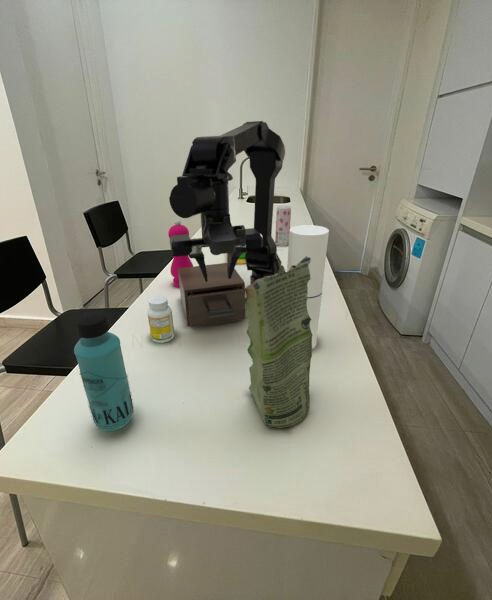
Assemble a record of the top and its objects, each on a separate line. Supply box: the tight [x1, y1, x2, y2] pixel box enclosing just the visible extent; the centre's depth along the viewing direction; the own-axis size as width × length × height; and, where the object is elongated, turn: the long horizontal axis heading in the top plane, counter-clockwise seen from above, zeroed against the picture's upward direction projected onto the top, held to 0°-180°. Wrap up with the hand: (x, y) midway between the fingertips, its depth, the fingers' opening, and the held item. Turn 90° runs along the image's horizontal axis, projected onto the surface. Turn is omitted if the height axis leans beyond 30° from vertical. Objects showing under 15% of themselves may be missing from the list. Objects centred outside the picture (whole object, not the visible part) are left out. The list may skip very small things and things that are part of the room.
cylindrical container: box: [286, 224, 330, 350], centre depth 67 cm, size 7×7×25 cm
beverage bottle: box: [73, 311, 135, 432], centre depth 49 cm, size 6×7×20 cm
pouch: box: [244, 256, 313, 429], centre depth 51 cm, size 11×12×25 cm
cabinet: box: [178, 262, 246, 327], centre depth 86 cm, size 15×15×10 cm
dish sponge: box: [236, 245, 246, 265], centre depth 122 cm, size 7×14×2 cm, turn 0°
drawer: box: [188, 287, 246, 328], centre depth 81 cm, size 18×13×8 cm
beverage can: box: [274, 205, 292, 247], centre depth 132 cm, size 6×6×15 cm
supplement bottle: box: [147, 295, 175, 344], centre depth 74 cm, size 5×5×10 cm
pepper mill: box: [167, 219, 194, 289], centre depth 99 cm, size 7×7×20 cm
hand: (217, 279), depth 72 cm, fingers open, 5 cm apart
